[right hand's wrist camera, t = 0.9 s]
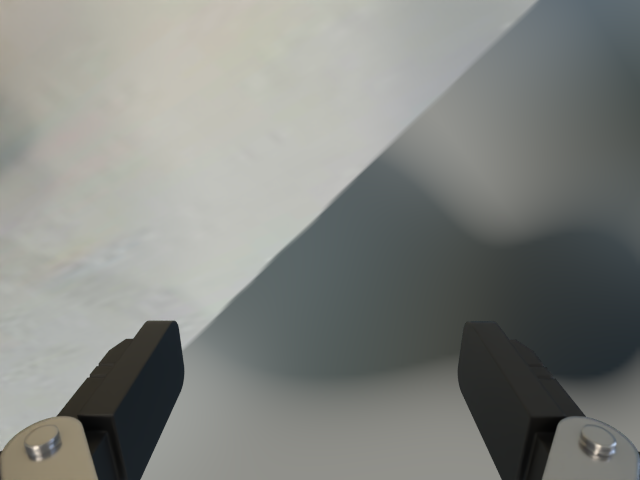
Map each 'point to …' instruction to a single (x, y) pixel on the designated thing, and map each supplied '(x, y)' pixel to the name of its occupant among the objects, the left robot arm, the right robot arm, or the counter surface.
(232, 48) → the counter surface
